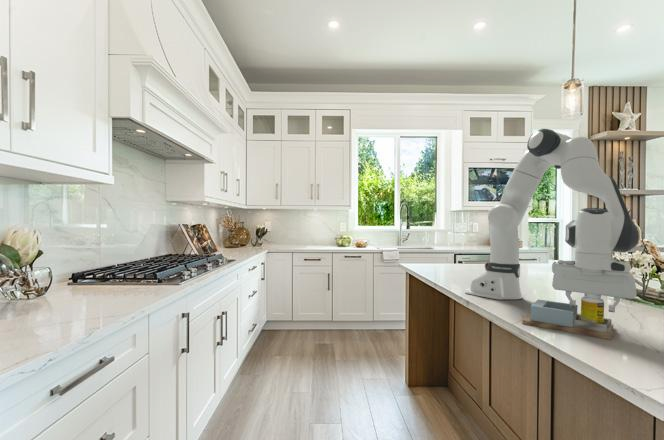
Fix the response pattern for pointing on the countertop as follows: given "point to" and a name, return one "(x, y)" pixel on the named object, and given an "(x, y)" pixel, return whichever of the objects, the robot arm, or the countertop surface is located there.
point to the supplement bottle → (592, 308)
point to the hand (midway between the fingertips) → (591, 309)
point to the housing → (553, 312)
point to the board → (578, 327)
